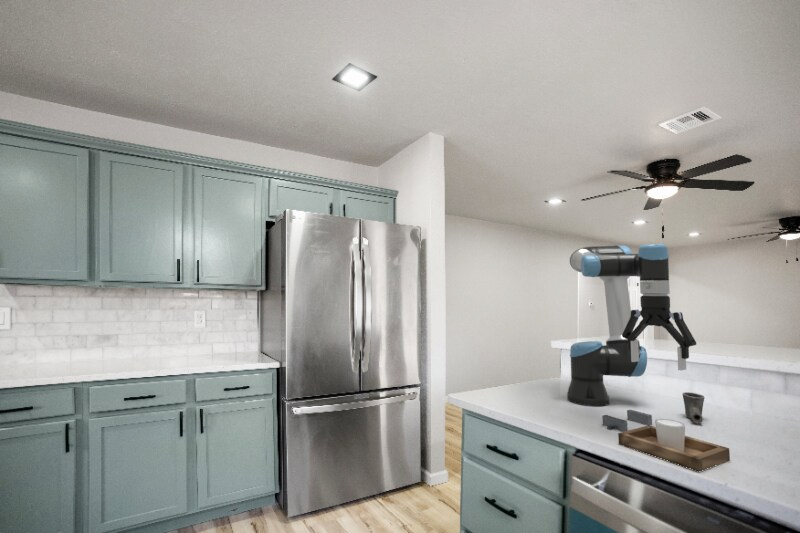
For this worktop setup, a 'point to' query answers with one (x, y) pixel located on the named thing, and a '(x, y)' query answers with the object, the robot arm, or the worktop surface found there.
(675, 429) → the light grey cup
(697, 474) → the worktop surface
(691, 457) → the tray
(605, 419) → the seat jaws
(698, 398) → the pipe
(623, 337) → the robot arm
